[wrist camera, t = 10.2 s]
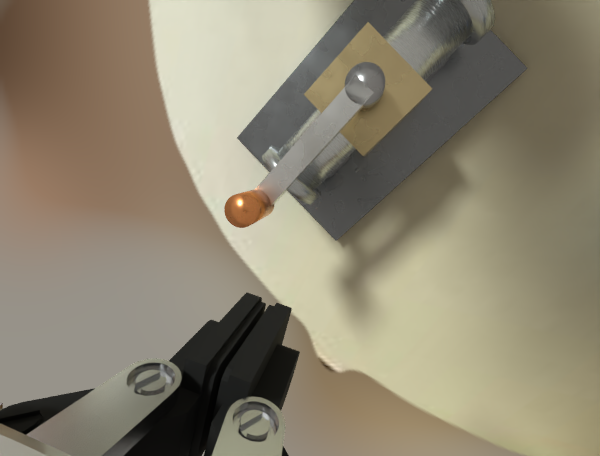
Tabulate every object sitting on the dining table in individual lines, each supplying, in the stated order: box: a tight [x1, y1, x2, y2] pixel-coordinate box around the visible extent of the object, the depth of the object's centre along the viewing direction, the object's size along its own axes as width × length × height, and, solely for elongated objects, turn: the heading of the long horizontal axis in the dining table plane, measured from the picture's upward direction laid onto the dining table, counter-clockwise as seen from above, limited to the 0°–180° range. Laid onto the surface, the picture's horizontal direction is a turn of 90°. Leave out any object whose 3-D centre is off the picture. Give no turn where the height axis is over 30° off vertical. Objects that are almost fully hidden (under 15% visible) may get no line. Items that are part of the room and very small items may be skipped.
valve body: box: [237, 0, 527, 241], centre depth 29 cm, size 16×24×10 cm, turn 135°
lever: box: [225, 62, 385, 228], centre depth 24 cm, size 15×3×5 cm, turn 136°
